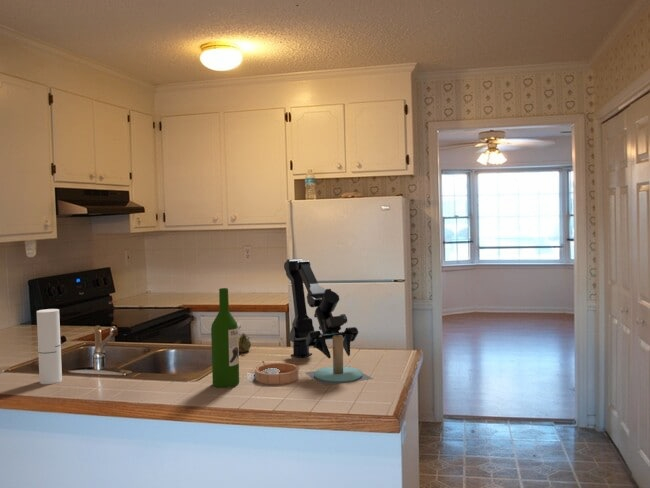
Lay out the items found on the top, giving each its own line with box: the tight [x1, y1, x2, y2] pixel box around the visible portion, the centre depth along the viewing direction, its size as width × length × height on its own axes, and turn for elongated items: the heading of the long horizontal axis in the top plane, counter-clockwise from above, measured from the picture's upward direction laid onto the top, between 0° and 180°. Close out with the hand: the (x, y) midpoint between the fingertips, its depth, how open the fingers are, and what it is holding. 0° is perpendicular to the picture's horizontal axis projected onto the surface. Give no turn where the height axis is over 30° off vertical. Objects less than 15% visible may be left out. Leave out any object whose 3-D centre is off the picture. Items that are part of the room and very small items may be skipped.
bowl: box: [254, 362, 300, 385], centre depth 205 cm, size 15×15×4 cm
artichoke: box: [238, 332, 252, 353], centre depth 247 cm, size 8×8×8 cm
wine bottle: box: [210, 287, 240, 389], centre depth 199 cm, size 9×9×32 cm
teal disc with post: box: [314, 335, 364, 383], centre depth 206 cm, size 17×17×14 cm
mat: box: [305, 366, 374, 387], centre depth 207 cm, size 18×18×1 cm
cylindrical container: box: [36, 308, 63, 385], centre depth 206 cm, size 7×7×25 cm
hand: (339, 356), depth 205 cm, fingers open, 7 cm apart
